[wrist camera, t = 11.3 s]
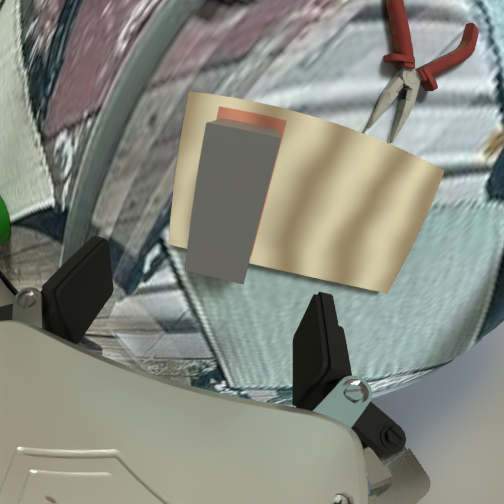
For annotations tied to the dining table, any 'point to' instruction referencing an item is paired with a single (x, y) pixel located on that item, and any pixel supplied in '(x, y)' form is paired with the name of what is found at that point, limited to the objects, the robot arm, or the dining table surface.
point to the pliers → (406, 64)
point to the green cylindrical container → (4, 223)
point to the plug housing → (229, 197)
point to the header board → (318, 195)
